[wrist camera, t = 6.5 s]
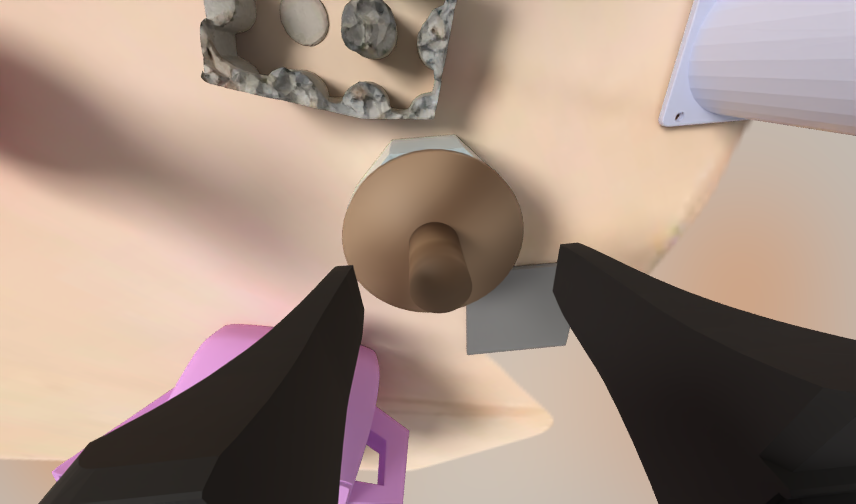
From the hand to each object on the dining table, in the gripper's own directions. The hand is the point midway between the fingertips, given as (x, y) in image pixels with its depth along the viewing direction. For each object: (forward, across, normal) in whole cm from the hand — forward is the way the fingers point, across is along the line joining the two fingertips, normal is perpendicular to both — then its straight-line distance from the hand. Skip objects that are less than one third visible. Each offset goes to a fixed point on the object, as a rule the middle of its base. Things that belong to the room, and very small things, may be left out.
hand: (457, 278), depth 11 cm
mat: (+10, -6, +12) cm, 17 cm away
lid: (+7, 0, +2) cm, 7 cm away
